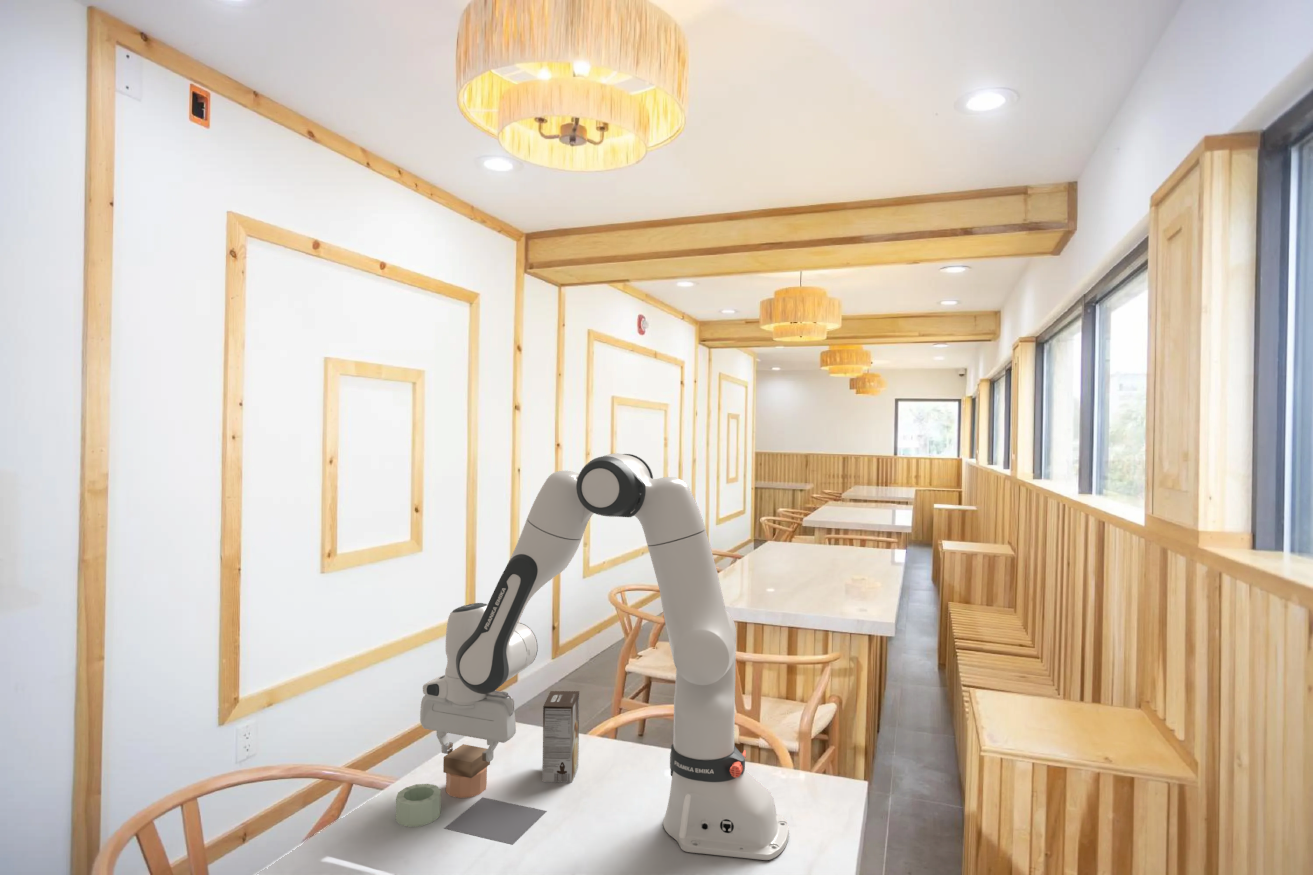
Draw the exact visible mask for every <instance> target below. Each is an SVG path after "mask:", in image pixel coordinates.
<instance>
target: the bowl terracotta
mask: <svg viewBox="0 0 1313 875" xmlns="http://www.w3.org/2000/svg"><path fill="white" fill-rule="evenodd" d="M445 775H446V776H445V786H446V787H445V792H446V794H447V795H449V796H450V797H454V798H458V799H463V798H464V799H465V798H472V797H475V796H478V795H481V794H483V792H485V791H486V790H487V786H488V785H487V784H488V766H487V767H486V768H484V769H483V770H482V771H480V772H479V773H478V774H476V775H475V776H474V777H472V778H468V777H463V776H458V775H454V774H449V773H445Z"/></svg>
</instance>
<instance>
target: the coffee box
mask: <svg viewBox="0 0 1313 875" xmlns="http://www.w3.org/2000/svg"><path fill="white" fill-rule="evenodd" d="M542 711H543V712H542V768H541V769H542V771H541V772H542V776H541V778H542V780H541V781H542V783H567V784H568V783H573V781H574V778H576V774H577V771H578V768H579V754H580V753H579V752H580V750H579V749H580V745H579V740H580V734H579V733H580V732H579V731H580V691H579V690H575V691H574V690H572V691H571V690H550V692H549V693H548V695H547V697H546V700H545V702H544V703H543V706H542Z"/></svg>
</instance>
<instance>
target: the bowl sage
mask: <svg viewBox="0 0 1313 875" xmlns="http://www.w3.org/2000/svg"><path fill="white" fill-rule="evenodd" d="M441 811H442V789H441V788H440V787H439V786H438V785H436V784H431V783H417V784H413V785H409V786H405V787H404V788H403V789H401V790H400V791H397V795H396V797H395V821H396V823H398V824H399V826H404V827H409V828H411V827H412V828H413V827H422V826H426V825H428V824H431V823H433V822H435V821H436V820H438V818H439V817H440V816H441Z"/></svg>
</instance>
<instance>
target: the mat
mask: <svg viewBox="0 0 1313 875" xmlns="http://www.w3.org/2000/svg"><path fill="white" fill-rule="evenodd" d="M547 812H548V811H547V810H544V809H541V808H540V809H539V808H535V807H530V806H525V805H520V804H517V803H511V802H507V801H503V800H496V799H494V798H493V799H492V798H488V797H484V796H483V797H481V798H480V799H478V800H477V801H475V802H474V803H473V804H472V805H471V806H469V807H468V808H467V809H466V810H465V811H463V812H462V813H460V815H458V816H457V817H456V818H454V819H453V820H452V821H451V822H449V824H447V825H446V826H444V827H443V829H445V830H449V831H453V832H458V833H462V834H466V835H470V836H474V837H478V838H482V839H483V838H484V839H487V840H491V841H495V842H499V843H503V844H509V845H514V844H515V843H516V842H517V841H519V839H520V838H521V837H522V836H523V835H524V834H525V833H527V831H529V830H530V829H531V828H532V827H533V826H534V825H535V824H536V823H537V822H538V821H539V820H540V819H541V818H542V817H543V816H544V815H545V814H546V813H547Z"/></svg>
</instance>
